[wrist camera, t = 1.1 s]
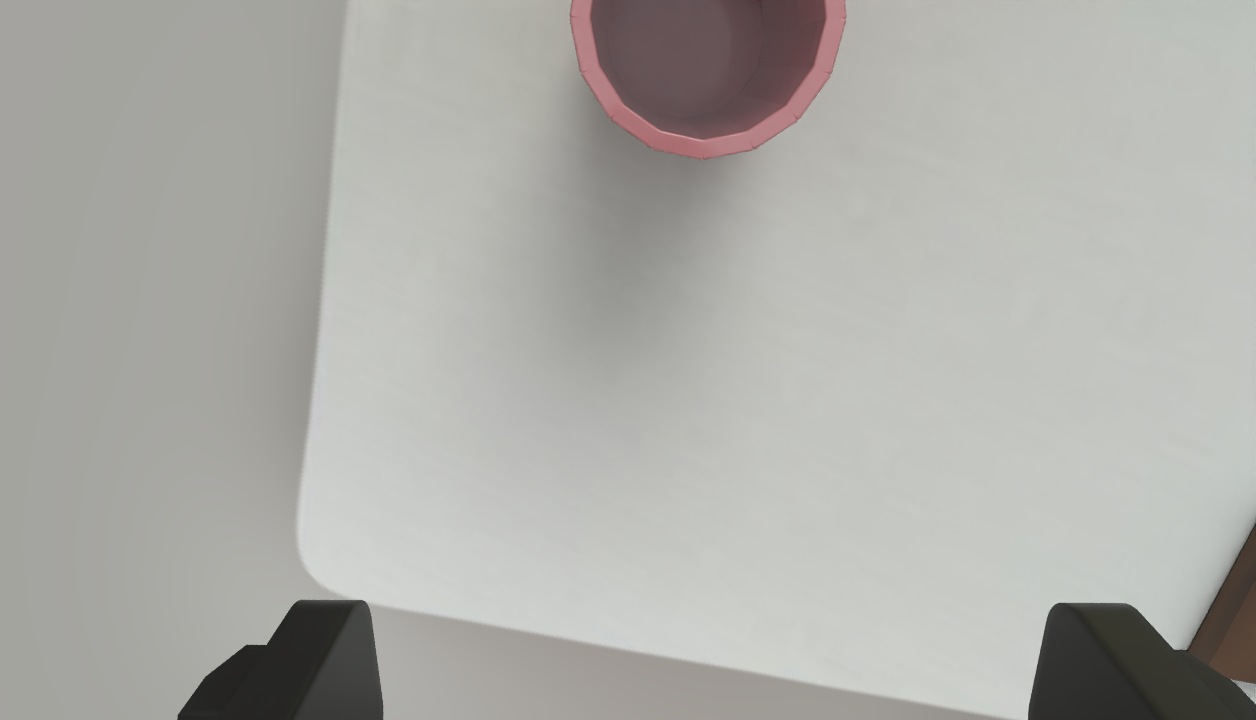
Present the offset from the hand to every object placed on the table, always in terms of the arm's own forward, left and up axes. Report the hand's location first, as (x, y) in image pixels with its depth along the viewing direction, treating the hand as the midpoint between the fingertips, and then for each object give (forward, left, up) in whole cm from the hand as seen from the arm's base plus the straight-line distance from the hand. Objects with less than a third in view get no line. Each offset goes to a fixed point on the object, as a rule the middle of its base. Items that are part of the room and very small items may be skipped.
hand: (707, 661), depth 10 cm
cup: (+5, +6, -21) cm, 22 cm away
